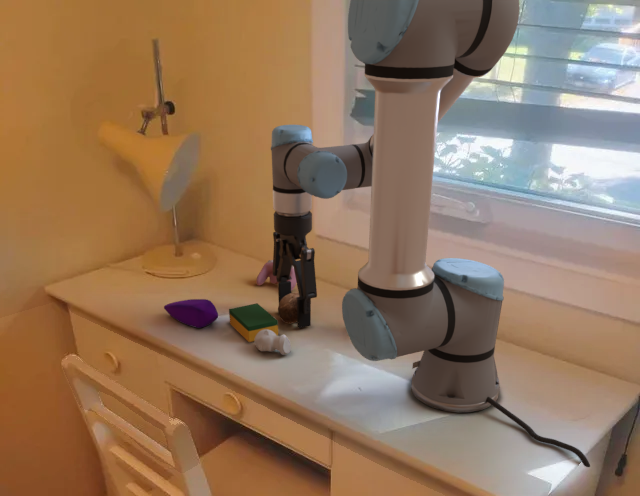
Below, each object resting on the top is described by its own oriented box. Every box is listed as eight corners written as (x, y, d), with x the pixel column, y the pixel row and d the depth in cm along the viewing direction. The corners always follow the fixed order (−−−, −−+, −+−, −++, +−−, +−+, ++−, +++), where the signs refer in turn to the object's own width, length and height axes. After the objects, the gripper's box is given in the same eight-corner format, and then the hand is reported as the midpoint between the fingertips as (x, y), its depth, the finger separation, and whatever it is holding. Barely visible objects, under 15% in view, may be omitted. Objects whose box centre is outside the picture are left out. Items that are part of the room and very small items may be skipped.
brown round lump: (321, 298, 152) (305, 279, 148) (318, 326, 148) (301, 307, 144) (291, 310, 156) (274, 292, 152) (286, 337, 152) (269, 319, 147)
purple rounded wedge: (169, 292, 154) (223, 300, 146) (173, 314, 156) (227, 323, 149) (154, 300, 150) (208, 308, 143) (158, 321, 153) (212, 331, 145)
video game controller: (298, 295, 167) (305, 265, 165) (288, 292, 162) (295, 262, 161) (263, 286, 171) (270, 257, 170) (253, 284, 167) (260, 254, 166)
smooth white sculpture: (251, 353, 141) (269, 338, 143) (278, 365, 136) (297, 350, 138) (245, 336, 138) (263, 321, 140) (272, 348, 133) (291, 333, 135)
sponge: (278, 335, 145) (277, 320, 143) (249, 342, 142) (248, 327, 140) (258, 317, 152) (257, 303, 150) (229, 323, 150) (228, 308, 148)
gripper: (336, 222, 132) (334, 333, 145) (286, 195, 148) (288, 298, 160) (300, 228, 129) (301, 341, 142) (253, 200, 145) (257, 304, 157)
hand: (294, 318), depth 151 cm, fingers closed on brown round lump, 8 cm apart
